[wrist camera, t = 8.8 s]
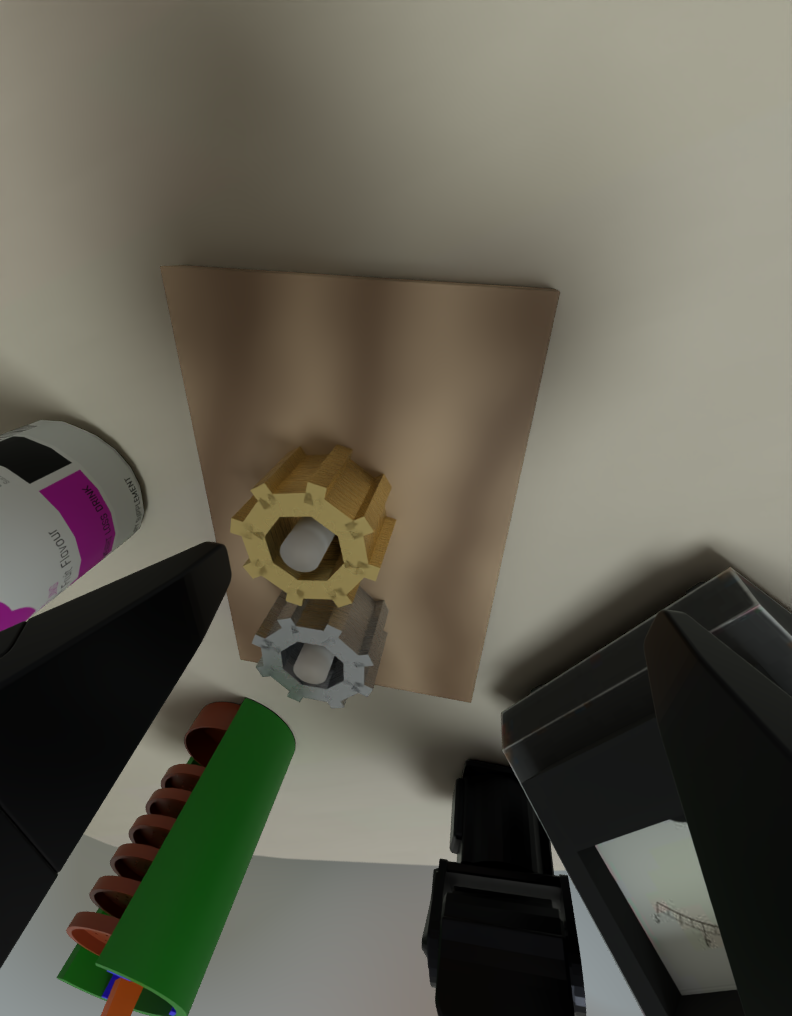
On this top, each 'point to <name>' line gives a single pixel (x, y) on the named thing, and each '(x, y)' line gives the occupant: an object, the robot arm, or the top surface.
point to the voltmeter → (639, 799)
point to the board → (370, 437)
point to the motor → (181, 866)
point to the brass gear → (333, 503)
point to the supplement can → (58, 512)
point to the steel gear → (337, 629)
